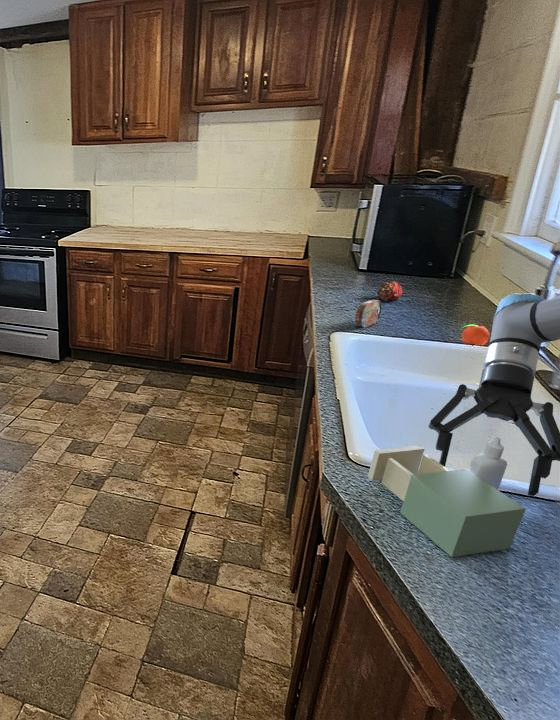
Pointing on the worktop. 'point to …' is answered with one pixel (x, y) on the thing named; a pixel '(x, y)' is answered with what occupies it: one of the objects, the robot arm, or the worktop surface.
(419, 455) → the drawer
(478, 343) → the red tomato
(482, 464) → the eye dropper bottle
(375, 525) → the worktop surface
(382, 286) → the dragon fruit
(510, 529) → the cabinet
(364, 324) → the sandwich
